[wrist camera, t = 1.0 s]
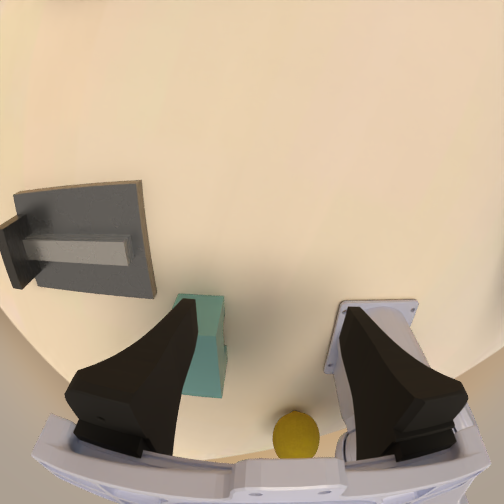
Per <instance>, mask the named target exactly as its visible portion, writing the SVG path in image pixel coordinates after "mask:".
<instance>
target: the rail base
mask: <svg viewBox="0 0 504 504" xmlns="http://www.w3.org/2000/svg"><path fill="white" fill-rule="evenodd" d="M13 197H14V202H15V207H16V212H17V215H16V216H14V217H13V218H11V219H9V220H8V221H6V222H5V223H3V224H2V225H0V252H1V255H2V258H3V261H4V264H5V267H6V270H7V273H8V276H9V278H10V281H11V284H12V286H13V288H16V289H23V288H24V287H25V286H26V285H27V284H28V283H29V282H30V281H31V280H32V279H34V278H35V279H36V281H37V284H38V286H40V287H47V288H55V289H62V290H70V291H78V292H87V293H95V294H105V295H114V296H125V297H136V298H147V299H154V297H155V295H156V293H157V290H156V284H155V279H154V273H153V267H152V261H151V254H150V248H149V241H148V234H147V226H146V219H145V210H144V201H143V192H142V181H141V180H135V181H118V182H103V183H91V184H79V185H69V186H60V187H51V188H42V189H34V190H27V191H20V192H18V193H16V194H14V195H13Z"/></svg>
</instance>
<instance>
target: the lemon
mask: <svg viewBox="0 0 504 504" xmlns="http://www.w3.org/2000/svg"><path fill="white" fill-rule="evenodd" d="M319 438H320V436H319V430H318V427H317V424H316V422H315V421H314V420H313V419H312V418H311V417H310V416H309V415H307V414H305V413H301V412H297V411H292V412H291V413H289V414H286V415H285V416H283V417H282V418H280V420H279V421H278V422H277V423H276V425H275V428H274V431H273V445H274V449H275V452H276V454H277V456H278V457H279V458H280V459H295V458H312V457H313V456H314V455H315V454H316V452H317V449H318V446H319Z"/></svg>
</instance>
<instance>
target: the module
mask: <svg viewBox="0 0 504 504" xmlns="http://www.w3.org/2000/svg"><path fill="white" fill-rule="evenodd" d="M183 298H187V299H196V311H197V322H198V337H197V343H196V348H195V352H194V355H193V358H192V361H191V364H190V367H189V370H188V374H187V377H186V380H185V383H184V386H183V390H182V394H183V395H192V396H201V397H211V398H222V395H223V388H224V380H225V373H226V366H227V346H224V336H223V322H224V316H225V307H224V296H211V295H193V294H178V296H177V298H176V301H175V303H174V306H173V308H174V307H175V306H176V305H177V304H178V303H179V301H180V300H181V299H183ZM173 308H172V309H173Z"/></svg>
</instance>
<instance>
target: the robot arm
mask: <svg viewBox="0 0 504 504" xmlns="http://www.w3.org/2000/svg"><path fill="white" fill-rule="evenodd" d="M418 305H419V303H418V301H417V300H415V299H413V300H372V301H343V302H342V303H341V304H340V307H339V311H338V316H337V320H336V324H335V328H334V332H333V336H332V340H331V344H330V348H329V352H328V355H327V359H326V363H325V366H324V373H326V374H333V375H334V380H335V385H336V390H337V395H338V401H339V406H340V412H341V416H342V419H343V421H344V422H345V424H346V425H347V430H348V432H346V433H344V434H343V435H341V437H340V438H339V440H338V442H337V447H336V452H335V457H319V458H295V459H266V458H265V459H264V458H259V459H246V460H242V461H239V462H237V463H236V464H227V463H217V462H208V461H201V460H193V459H187V458H181V457H175V456H172V455H173V445H174V437H175V429H176V422H177V416H178V410H179V405H180V399H181V394H182V390H183V386H184V383H185V380H186V377H187V374H188V370H189V367H190V364H191V361H192V358H193V355H194V352H195V348H196V343H197V337H198V322H197V311H196V299H187V298H183V299H181V300H180V301H179V303H178V304H177V305H176V306H175V307H174V308H173V309H172V310H171V311H170V312H169V313H168V314H167V315H166V316H165V317H164V318H163V319H162V320H161V321H160V322H159V323H158V324H157V325H156V326H155V327H154V328H153V329H151V330H150V331H149V332H148V333H147V334H146V335H144V336H143V337H142V338H141V339H139V340H138V341H137V342H135V343H134V344H132V345H131V346H129V347H128V348H126V349H124V350H123V351H121V352H119V353H118V354H116V355H114V356H112V357H110V358H108V359H106V360H104V361H102V362H100V363H97V364H95V365H92V366H89V367H86V368H84V369H81V370H78V371H77V372H76V374H75V376H74V377H73V379H72V381H71V383H70V385H69V387H68V389H67V391H66V392H65V398H66V401H67V403H68V404H69V406H70V407H71V409H72V410H73V411H74V413H75V414H76V416H77V417H78V418H79V420H78V423H77V425H76V424H75V423H73V422H72V421H70V420H68V419H65V418H62V417H60V416H57V415H55V414H50V415H49V417H48V419H47V421H46V423H45V425H44V427H43V429H42V432H41V434H40V436H39V438H38V440H37V442H36V444H35V446H34V449H33V451H32V453H31V456H32V457H33V458H34V459H35V460H36V461H38V462H39V463H40V464H41V465H43V466H44V467H45V468H46V469H47V470H49V471H50V472H51V473H53V474H54V475H55V476H56V477H58V478H60V479H62V480H64V481H66V482H68V483H70V484H73V485H75V486H77V487H79V488H81V489H84V490H86V491H88V492H91V493H93V494H95V495H98V496H100V497H103V498H105V499H108V500H111V501H113V502H116V503H119V504H469V502H468V500H467V497H466V495H465V492H466V490H467V489H468V487H469V486H470V485H471V483H472V482H473V480H474V479H475V477H476V476H477V475H479V474H480V473H481V472H483V471H484V470H485V469H487V468H488V467H489V466H490V465H491V461H490V459H489V456H488V453H487V450H486V448H485V445H484V443H483V440H482V438H481V435H480V432H479V429H478V426H477V423H476V421H475V418H474V416H473V414H472V411H471V409H470V407H469V405H468V403H467V400H468V395H467V393H466V391H465V389H464V387H463V385H462V383H461V382H460V381H457V380H455V379H453V378H450V377H447V376H445V375H443V374H441V373H439V372H437V371H435V370H433V369H431V368H430V365H429V363H428V361H427V359H426V357H425V355H424V353H423V351H422V349H421V347H420V345H419V343H418V341H417V340H416V338H415V336H414V334H413V332H412V330H411V328H410V326H411V323H412V321H413V318H414V316H415V313H416V310H417V308H418ZM412 308H413V309H412ZM411 309H412V310H411ZM344 310H346V311H345V312H343V311H344Z"/></svg>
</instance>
